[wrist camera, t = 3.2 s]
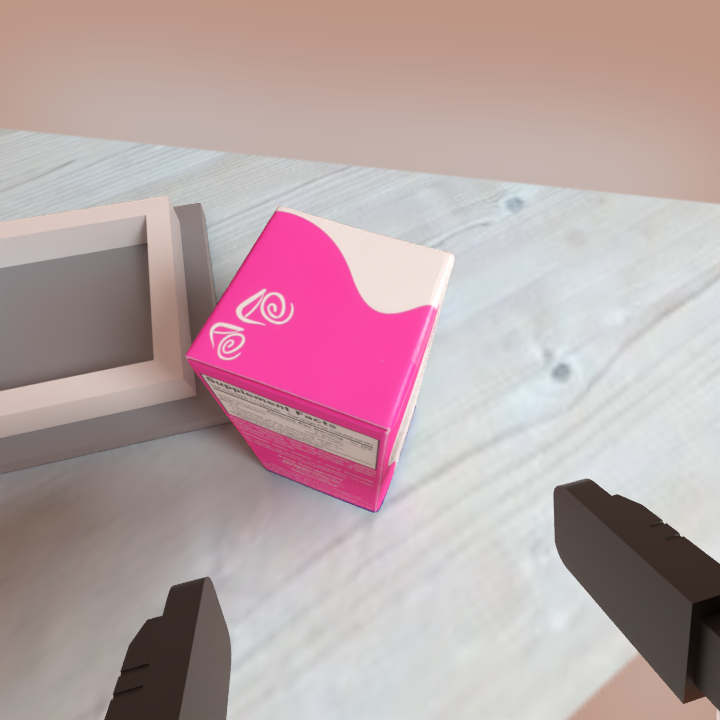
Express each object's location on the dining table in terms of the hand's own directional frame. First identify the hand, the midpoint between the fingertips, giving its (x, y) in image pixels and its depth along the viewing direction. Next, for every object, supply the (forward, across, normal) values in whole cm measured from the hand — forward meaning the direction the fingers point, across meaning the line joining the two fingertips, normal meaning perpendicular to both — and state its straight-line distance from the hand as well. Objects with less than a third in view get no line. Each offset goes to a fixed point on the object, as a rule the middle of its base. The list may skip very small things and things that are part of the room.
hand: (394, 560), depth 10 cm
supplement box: (+12, 0, +3) cm, 12 cm away
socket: (+18, +12, -4) cm, 22 cm away
